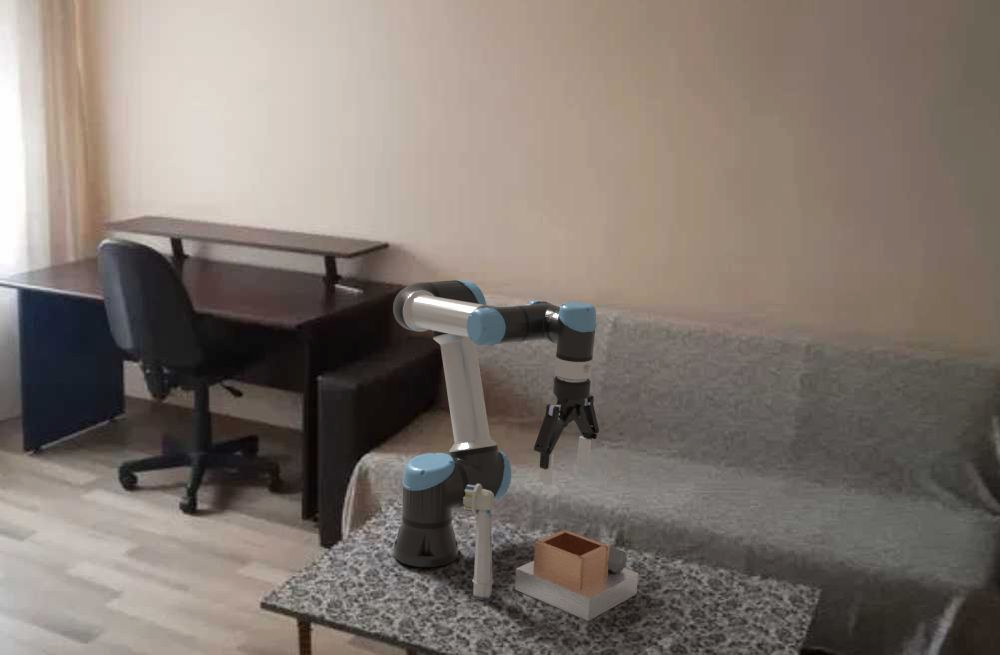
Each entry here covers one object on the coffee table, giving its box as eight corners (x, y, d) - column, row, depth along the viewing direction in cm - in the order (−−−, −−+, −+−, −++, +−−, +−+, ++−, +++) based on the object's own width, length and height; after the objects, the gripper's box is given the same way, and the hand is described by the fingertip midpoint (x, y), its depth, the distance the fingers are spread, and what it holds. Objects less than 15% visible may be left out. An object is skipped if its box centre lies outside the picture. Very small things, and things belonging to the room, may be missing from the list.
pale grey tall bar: (487, 602, 219) (493, 492, 215) (458, 597, 221) (463, 487, 217) (495, 592, 224) (500, 484, 219) (467, 587, 226) (471, 479, 221)
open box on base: (515, 589, 226) (517, 538, 224) (565, 565, 240) (568, 517, 237) (588, 621, 213) (591, 567, 211) (636, 594, 227) (640, 543, 224)
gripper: (551, 392, 200) (543, 494, 204) (620, 371, 219) (611, 465, 224) (521, 384, 204) (514, 484, 209) (591, 364, 223) (583, 456, 228)
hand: (564, 474), depth 216 cm, fingers open, 13 cm apart
